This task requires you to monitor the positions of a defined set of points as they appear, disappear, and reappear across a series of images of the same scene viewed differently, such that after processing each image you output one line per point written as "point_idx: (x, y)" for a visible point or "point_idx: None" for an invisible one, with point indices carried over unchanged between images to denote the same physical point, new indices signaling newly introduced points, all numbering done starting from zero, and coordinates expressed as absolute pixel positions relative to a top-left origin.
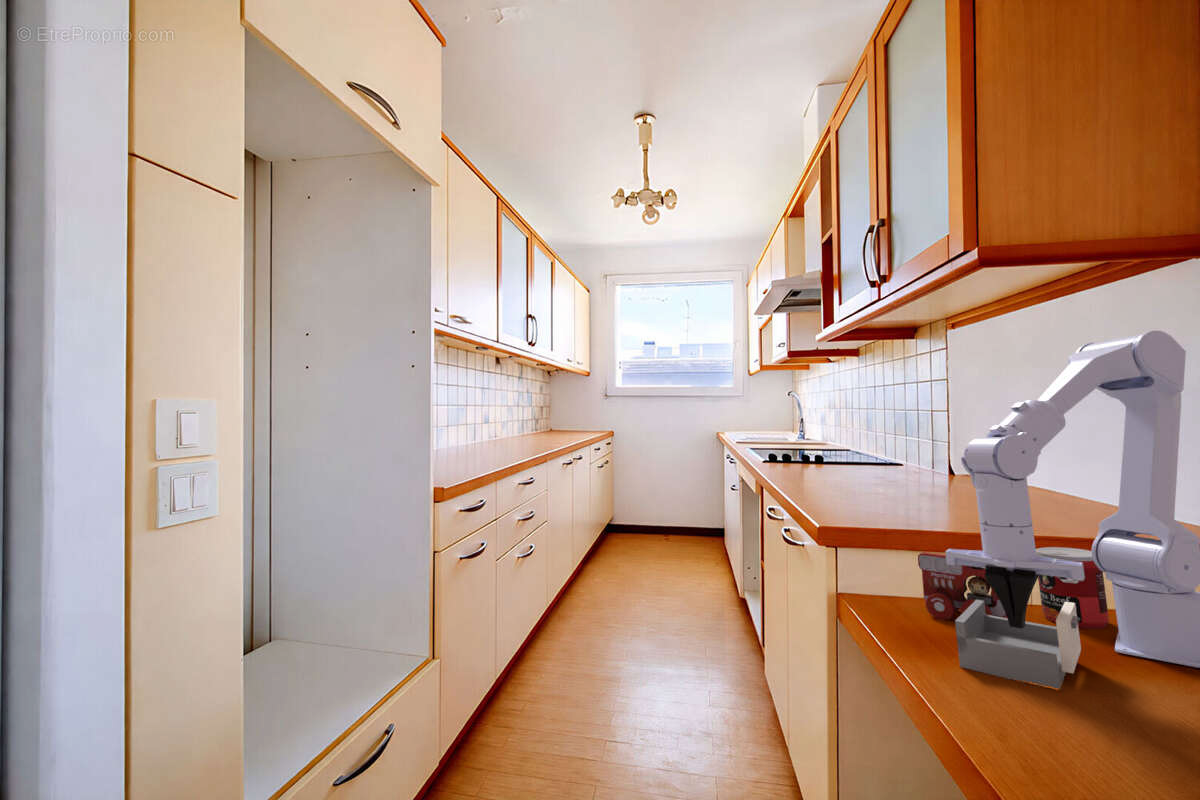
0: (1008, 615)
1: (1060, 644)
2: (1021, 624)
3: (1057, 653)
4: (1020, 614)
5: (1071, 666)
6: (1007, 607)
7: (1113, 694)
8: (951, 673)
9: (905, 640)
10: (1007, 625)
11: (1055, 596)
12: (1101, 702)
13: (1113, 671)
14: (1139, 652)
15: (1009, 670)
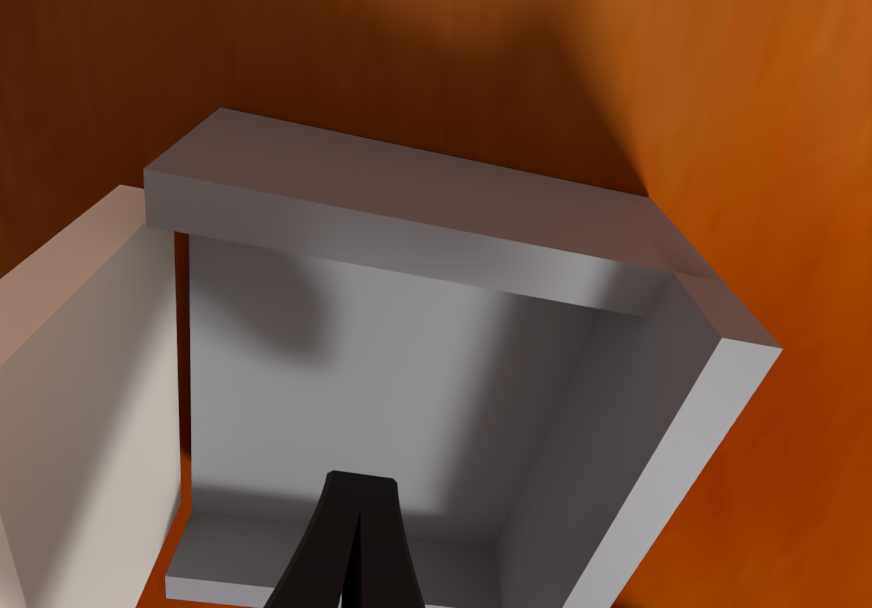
0: (392, 534)
1: (84, 271)
2: (327, 489)
3: (219, 418)
4: (313, 546)
5: (104, 200)
6: (389, 590)
7: (26, 200)
8: (716, 81)
9: (829, 406)
10: None
11: None
12: (45, 64)
13: None
14: None
15: (430, 166)
